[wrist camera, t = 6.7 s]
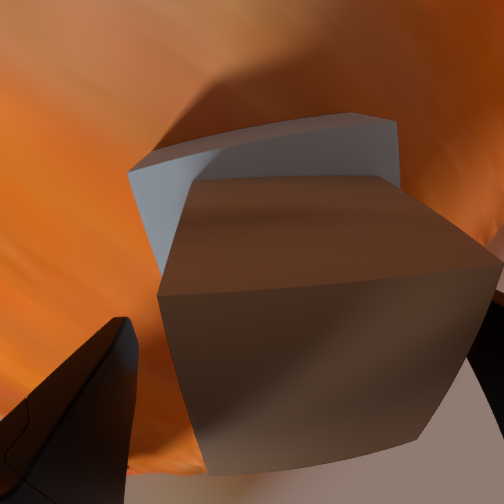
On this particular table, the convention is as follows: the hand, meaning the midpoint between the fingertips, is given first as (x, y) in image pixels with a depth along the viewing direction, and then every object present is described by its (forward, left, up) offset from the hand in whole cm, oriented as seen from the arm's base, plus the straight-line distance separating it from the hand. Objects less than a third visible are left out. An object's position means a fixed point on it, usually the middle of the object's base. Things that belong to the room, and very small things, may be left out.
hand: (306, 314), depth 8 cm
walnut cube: (0, 0, -2) cm, 3 cm away
